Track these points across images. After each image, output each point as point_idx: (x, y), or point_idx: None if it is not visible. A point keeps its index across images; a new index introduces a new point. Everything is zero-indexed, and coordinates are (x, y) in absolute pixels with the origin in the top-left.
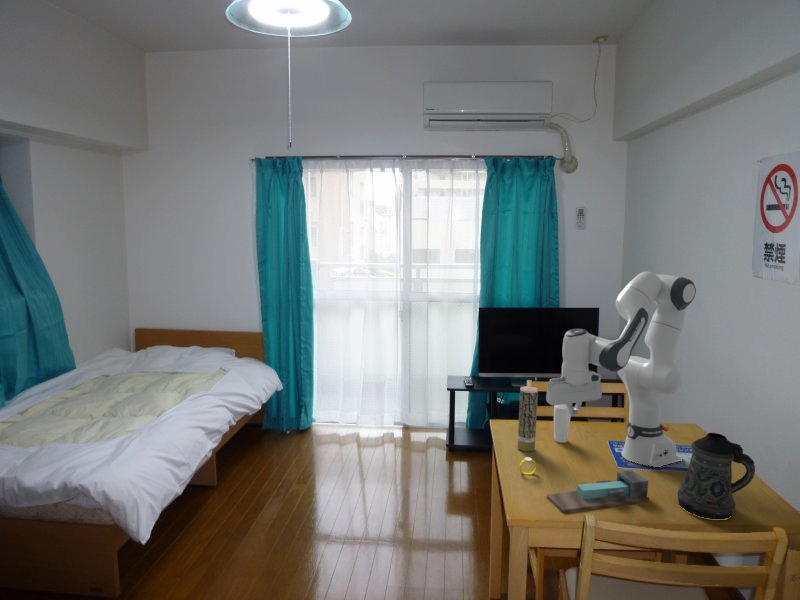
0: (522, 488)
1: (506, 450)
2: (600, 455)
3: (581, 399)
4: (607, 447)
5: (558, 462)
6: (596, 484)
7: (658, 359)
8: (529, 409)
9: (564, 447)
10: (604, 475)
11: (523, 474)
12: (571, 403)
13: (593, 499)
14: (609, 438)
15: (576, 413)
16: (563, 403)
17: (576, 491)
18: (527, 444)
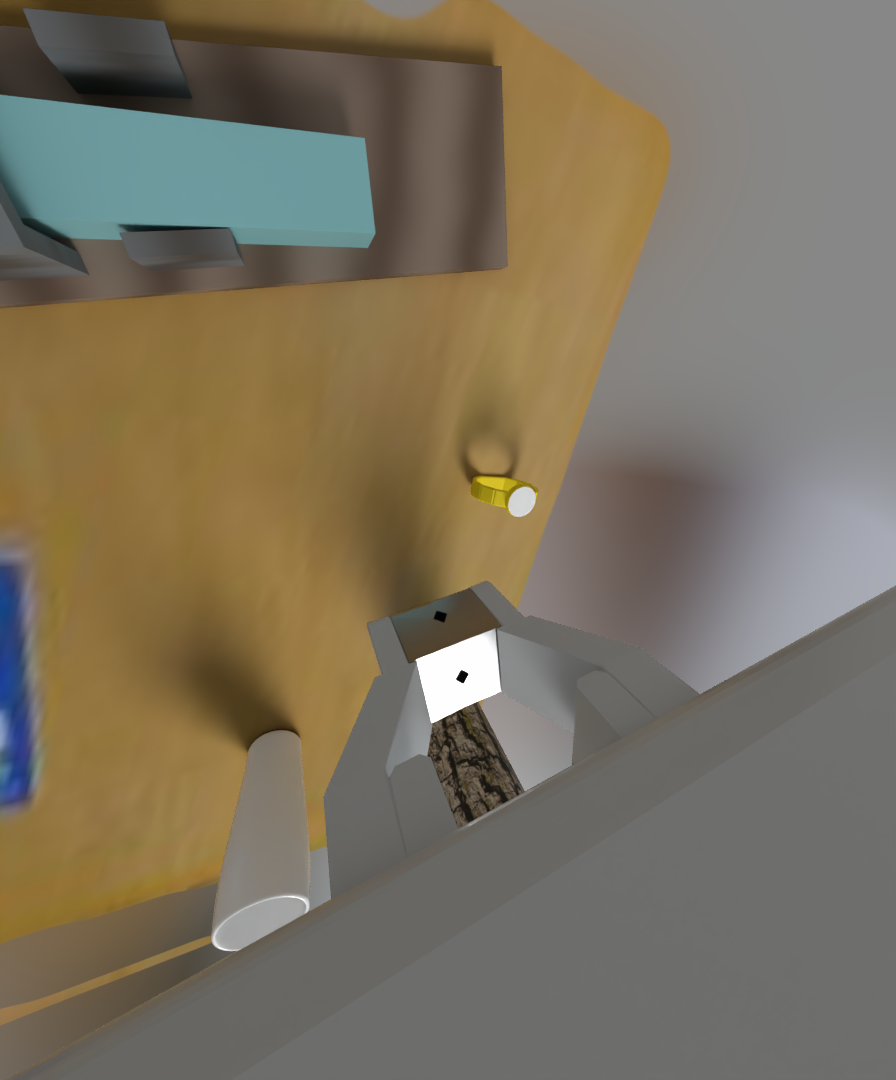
0: (552, 369)
1: None
2: (110, 662)
3: (417, 1014)
4: (48, 742)
5: (341, 579)
6: (248, 208)
7: None
8: (503, 797)
9: (275, 699)
10: (138, 463)
11: (506, 478)
12: (638, 714)
13: None
14: (17, 822)
15: (400, 614)
16: (883, 613)
17: (361, 270)
18: None
